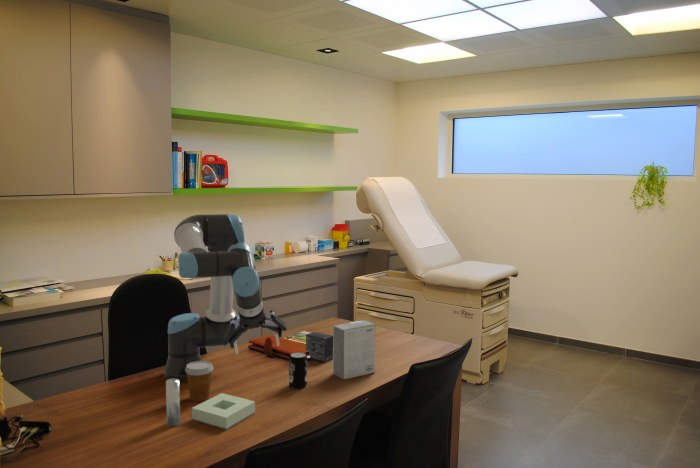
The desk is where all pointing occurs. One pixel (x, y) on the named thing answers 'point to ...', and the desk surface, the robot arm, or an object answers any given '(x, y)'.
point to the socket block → (223, 411)
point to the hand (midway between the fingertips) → (257, 346)
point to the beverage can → (298, 370)
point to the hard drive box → (353, 349)
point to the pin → (173, 402)
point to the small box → (319, 346)
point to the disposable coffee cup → (199, 380)
